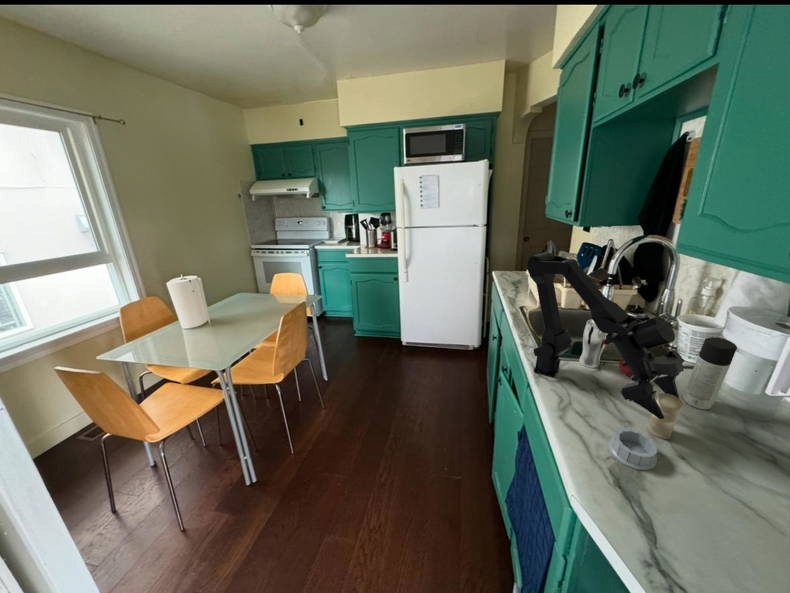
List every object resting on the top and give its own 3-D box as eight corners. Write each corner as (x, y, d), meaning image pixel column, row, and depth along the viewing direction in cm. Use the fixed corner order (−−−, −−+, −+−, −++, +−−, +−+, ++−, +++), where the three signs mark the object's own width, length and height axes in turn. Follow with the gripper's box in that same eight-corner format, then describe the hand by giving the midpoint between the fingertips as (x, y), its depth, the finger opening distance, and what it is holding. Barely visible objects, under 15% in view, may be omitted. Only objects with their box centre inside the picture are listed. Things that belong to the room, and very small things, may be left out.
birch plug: (647, 434, 92) (658, 402, 88) (646, 421, 96) (657, 390, 91) (671, 441, 90) (683, 409, 85) (669, 428, 93) (681, 397, 89)
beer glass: (602, 370, 116) (612, 330, 110) (578, 366, 119) (587, 327, 112) (599, 358, 122) (608, 320, 116) (576, 355, 125) (585, 317, 118)
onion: (641, 382, 111) (647, 360, 107) (620, 380, 112) (626, 359, 108) (633, 370, 116) (639, 349, 112) (614, 369, 117) (619, 348, 114)
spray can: (718, 409, 99) (745, 348, 91) (695, 411, 99) (720, 350, 90) (697, 393, 105) (721, 335, 97) (676, 395, 105) (698, 336, 96)
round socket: (607, 459, 85) (610, 448, 84) (609, 431, 93) (612, 421, 92) (657, 477, 81) (662, 465, 79) (655, 446, 88) (659, 435, 87)
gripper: (646, 357, 81) (689, 423, 77) (681, 332, 91) (720, 389, 87) (604, 369, 91) (641, 428, 87) (639, 345, 100) (674, 397, 96)
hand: (670, 410), depth 89 cm, fingers open, 9 cm apart
